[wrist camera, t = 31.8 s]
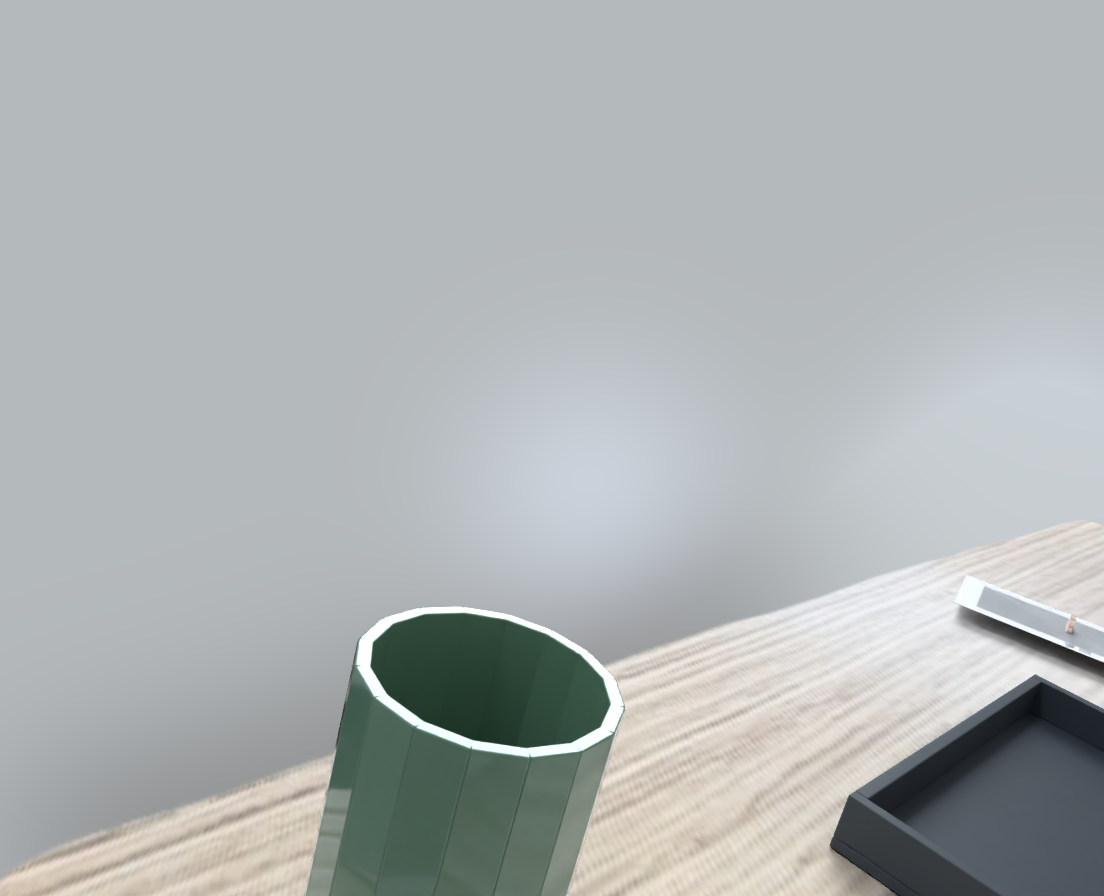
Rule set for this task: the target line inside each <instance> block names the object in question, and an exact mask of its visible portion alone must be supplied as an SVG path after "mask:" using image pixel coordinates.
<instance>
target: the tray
mask: <svg viewBox="0 0 1104 896" xmlns="http://www.w3.org/2000/svg"><path fill="white" fill-rule="evenodd" d="M830 846H831V847H832V848H833V849H835V850H836V851H838V852H839V853H840V854H842V855H843V856H845V857H846V858H848V859H849V860H850V861H852V862H853V863H855V864H856V865H857V866H859V867H860V868H862V869H863V870H865V871H866V872H867V873H869V874H870V875H872V876H873V877H874V878H876V879H877V880H879V881H880V882H882V883H883V884H884V885H886V886H887V887H889V888H890V889H891V890H893V891H894V892H896V893H897V894H899V895H900V896H1104V709H1102V708H1100V707H1099V706H1097V705H1095V704H1093V703H1091V702H1089V701H1087V700H1085V699H1083V698H1081V697H1079V696H1077V695H1075V694H1073V693H1071V692H1069V691H1067V690H1065V689H1063V688H1061V687H1059V686H1057V685H1055V684H1053V683H1051V682H1049V681H1047V680H1045V679H1043V678H1041V677H1039V676H1037V675H1033V676H1032V677H1031V678H1029V679H1028V680H1026V681H1024V682H1023V683H1021V684H1020V685H1018V686H1017V687H1015V688H1014V689H1012V690H1011V691H1009V692H1008V693H1006V694H1004V695H1003V696H1001V697H1000V698H998V699H997V700H995V701H994V702H992V703H991V704H989V705H988V706H986V707H984V708H983V709H981V710H980V711H978V712H977V713H975V714H974V715H972V716H971V717H969V718H967V719H966V720H964V721H963V722H961V723H960V724H958V725H957V726H955V727H954V728H952V729H951V730H949V731H947V732H946V733H944V734H943V735H941V736H940V737H938V738H937V739H935V740H934V741H932V742H931V743H929V744H927V745H926V746H924V747H923V748H921V749H920V750H918V751H917V752H915V753H914V754H912V755H911V756H909V757H907V758H906V759H904V760H903V761H901V762H900V763H898V764H897V765H895V766H894V767H892V768H890V769H889V770H887V771H886V772H884V773H883V774H881V775H880V776H878V777H877V778H875V779H874V780H872V781H870V782H869V783H867V784H866V785H864V786H863V787H861V788H860V789H858V790H857V791H856V792H854V793H852V794H850V795H849V797H848V799H847V802H846V804H845V807H844V810H843V812H842V815H841V817H840V820H839V823H838V825H837V828H836V830H835V833H834V836H833V838H832V840H831V843H830Z"/></svg>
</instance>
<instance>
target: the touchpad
mask: <svg viewBox="0 0 1104 896" xmlns="http://www.w3.org/2000/svg"><path fill="white" fill-rule="evenodd" d="M953 602H954V603H956V604H959V605H961V606H964V607H966V608H969V609H971V610H974V611H976V612H979V613H981V614H984V615H986V616H989V617H991V618H994V619H996V620H999V621H1001V622H1004V623H1006V624H1009V625H1011V626H1014V627H1016V628H1019V629H1021V630H1024V631H1026V632H1029V633H1031V634H1034V635H1036V636H1039V637H1041V638H1044V639H1046V640H1049V641H1051V642H1054V643H1056V644H1059V645H1061V646H1064V647H1066V648H1068V649H1071V650H1074V651H1076V652H1079V653H1081V654H1084V655H1086V656H1089V657H1091V658H1094V659H1096V660H1099V661H1101V662H1104V628H1102V627H1100V626H1097V625H1095V624H1092V623H1089V622H1087V621H1084V620H1082V619H1079V618H1077V616H1074V615H1069V614H1066V613H1064V612H1061V611H1058V610H1056V609H1053V608H1051V607H1048V606H1045V605H1043V604H1040V603H1038V602H1035V601H1033V600H1030V599H1027V598H1025V597H1022V596H1020V595H1017V594H1014V593H1012V592H1009V591H1007V590H1004V589H1002V588H999V587H996V586H994V585H991V584H989V583H986V582H983V581H981V580H978V579H976V578H973V577H971V576H968V575H966V577H965V579H964V581H963V583H962V585H961V587H960V589H959V591H958V593H957V595H956V597H955V599H954V601H953Z"/></svg>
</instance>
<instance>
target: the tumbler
mask: <svg viewBox="0 0 1104 896" xmlns="http://www.w3.org/2000/svg"><path fill="white" fill-rule="evenodd" d="M624 712H625V706H624V703H623V700H622V697H621V694H620V691H619V688H618V685H617V682H616V680H615V678H614V677H613V676H612V675H611V674H610V673H609V672H608V671H607V670H606V669H605V668H604V667H603V666H602V665H601V664H600V663H599V662H598V660H596V659H595V657H594V656H593V655H592V654H591V653H589V652H588V651H586V650H585V649H583V648H581V647H580V646H578V645H576V644H575V643H573V642H571V641H570V640H568V639H566V638H565V637H563V636H561V635H560V634H558V633H556V632H555V631H552V630H550V629H548V628H545V627H542V626H539V625H536V624H534V623H530V622H528V621H525V620H522V619H520V618H517V617H514V616H511V615H507V614H503V613H497V612H490V611H485V610H479V609H472V608H467V607H428V608H427V607H426V608H415V609H412V610H408V611H405V612H402V613H398V614H395V615H392V616H388V617H384V618H382V619H380V621H378V622H377V623H376V624H375V625H374V626H372V627H371V628H370V629H369V630H368V631H367V632H365V633H364V634H363V635H362V636H361V637H360V638H359V640H358V642H357V647H356V652H355V656H354V661H353V666H352V671H351V675H350V681H349V685H348V689H347V694H346V699H345V704H344V708H343V713H342V718H341V723H340V727H339V732H338V737H337V742H336V746H335V751H334V756H333V760H332V765H331V770H330V774H329V779H328V784H327V789H326V793H325V798H324V803H323V808H322V812H321V817H320V822H319V826H318V831H317V836H316V841H315V845H314V850H313V855H312V860H311V864H310V869H309V874H308V878H307V883H306V888H305V893H304V896H569V893H570V890H571V887H572V883H573V880H574V877H575V874H576V870H577V867H578V864H579V860H580V857H581V854H582V850H583V847H584V844H585V841H586V837H587V834H588V831H589V827H590V824H591V821H592V817H593V814H594V811H595V808H596V804H597V801H598V798H599V794H600V791H601V788H602V784H603V781H604V778H605V775H606V771H607V768H608V765H609V761H610V758H611V755H612V751H613V748H614V745H615V742H616V738H617V735H618V732H619V728H620V725H621V722H622V718H623V715H624Z"/></svg>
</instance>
